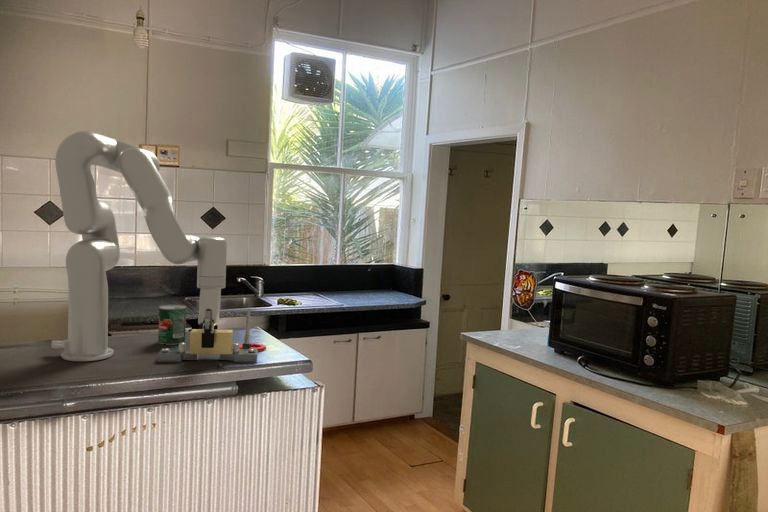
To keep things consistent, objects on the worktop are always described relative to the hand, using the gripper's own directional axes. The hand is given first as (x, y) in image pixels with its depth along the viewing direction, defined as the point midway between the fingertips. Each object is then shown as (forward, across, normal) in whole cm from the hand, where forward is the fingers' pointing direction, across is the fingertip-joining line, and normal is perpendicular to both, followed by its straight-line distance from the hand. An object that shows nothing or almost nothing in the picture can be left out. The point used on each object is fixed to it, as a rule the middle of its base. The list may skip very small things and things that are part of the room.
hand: (209, 343), depth 160 cm
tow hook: (+5, -12, +11) cm, 17 cm away
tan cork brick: (+2, 0, 0) cm, 3 cm away
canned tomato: (+5, -20, -13) cm, 24 cm away
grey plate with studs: (+4, 0, 0) cm, 4 cm away
